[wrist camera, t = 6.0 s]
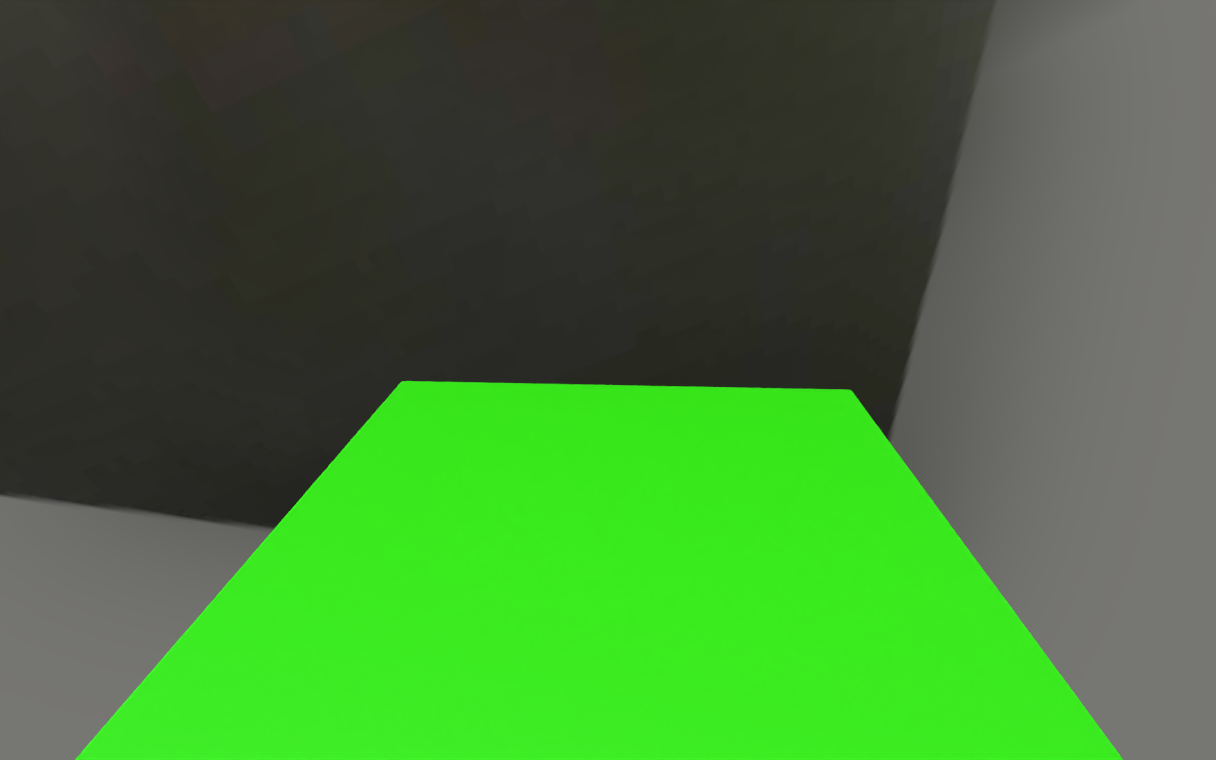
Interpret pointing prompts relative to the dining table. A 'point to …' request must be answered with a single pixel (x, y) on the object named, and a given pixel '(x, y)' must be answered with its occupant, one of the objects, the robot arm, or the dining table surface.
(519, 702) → the cube
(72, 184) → the dining table surface
